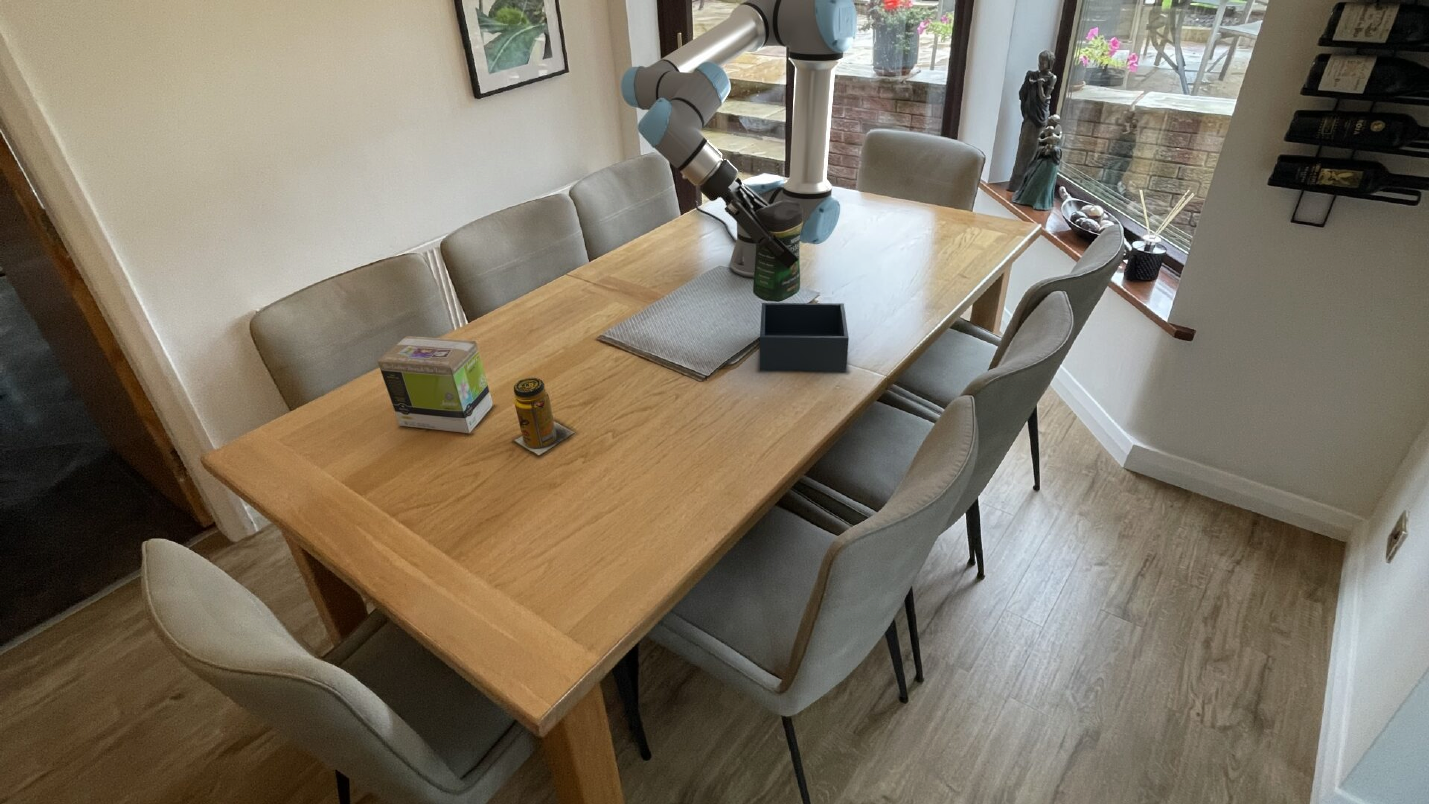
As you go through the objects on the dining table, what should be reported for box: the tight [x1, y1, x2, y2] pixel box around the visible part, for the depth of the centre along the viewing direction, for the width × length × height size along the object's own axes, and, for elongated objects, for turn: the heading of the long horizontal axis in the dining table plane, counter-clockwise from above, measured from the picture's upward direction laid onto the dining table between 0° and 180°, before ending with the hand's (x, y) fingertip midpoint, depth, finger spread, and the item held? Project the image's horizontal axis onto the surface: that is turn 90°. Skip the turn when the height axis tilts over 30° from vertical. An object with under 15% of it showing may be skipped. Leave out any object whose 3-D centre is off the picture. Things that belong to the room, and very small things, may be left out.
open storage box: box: [759, 302, 850, 373], centre depth 153 cm, size 15×18×8 cm
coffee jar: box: [752, 199, 803, 303], centre depth 143 cm, size 10×8×19 cm
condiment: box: [513, 377, 575, 456], centre depth 130 cm, size 7×8×12 cm
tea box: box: [377, 335, 493, 434], centre depth 136 cm, size 15×10×15 cm, turn 77°
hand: (793, 252), depth 143 cm, fingers closed on coffee jar, 10 cm apart
